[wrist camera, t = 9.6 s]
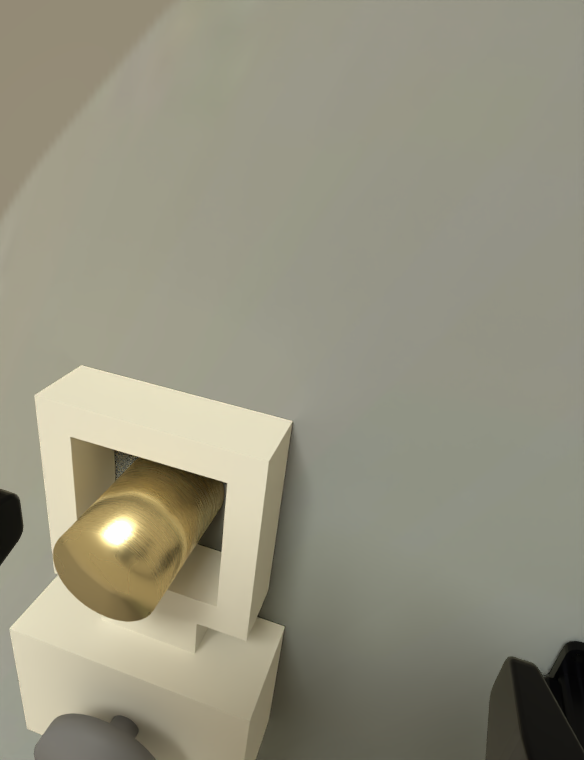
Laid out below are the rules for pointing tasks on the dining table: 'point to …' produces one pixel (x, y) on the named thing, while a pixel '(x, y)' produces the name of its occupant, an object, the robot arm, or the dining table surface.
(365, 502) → the dining table surface
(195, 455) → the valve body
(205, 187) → the dining table surface
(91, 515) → the brass cylinder
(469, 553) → the dining table surface
